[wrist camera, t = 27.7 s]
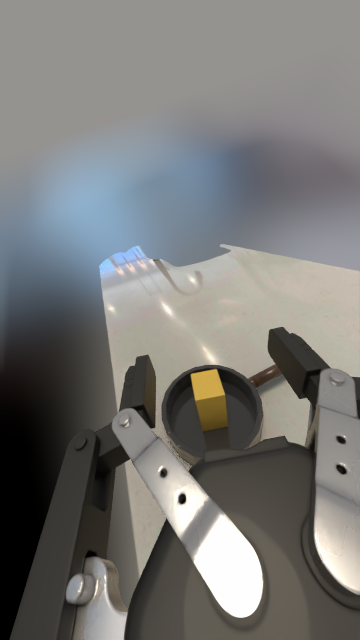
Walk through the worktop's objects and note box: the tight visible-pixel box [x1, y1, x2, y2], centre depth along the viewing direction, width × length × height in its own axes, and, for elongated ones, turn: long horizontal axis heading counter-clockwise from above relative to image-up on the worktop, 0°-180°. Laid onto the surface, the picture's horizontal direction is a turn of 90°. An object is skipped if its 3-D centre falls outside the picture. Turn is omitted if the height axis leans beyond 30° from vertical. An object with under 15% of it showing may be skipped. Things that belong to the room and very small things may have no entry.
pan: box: [162, 365, 263, 465], centre depth 34 cm, size 17×17×4 cm
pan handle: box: [248, 364, 282, 388], centre depth 37 cm, size 13×2×2 cm, turn 113°
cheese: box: [191, 369, 228, 431], centre depth 33 cm, size 5×4×9 cm
